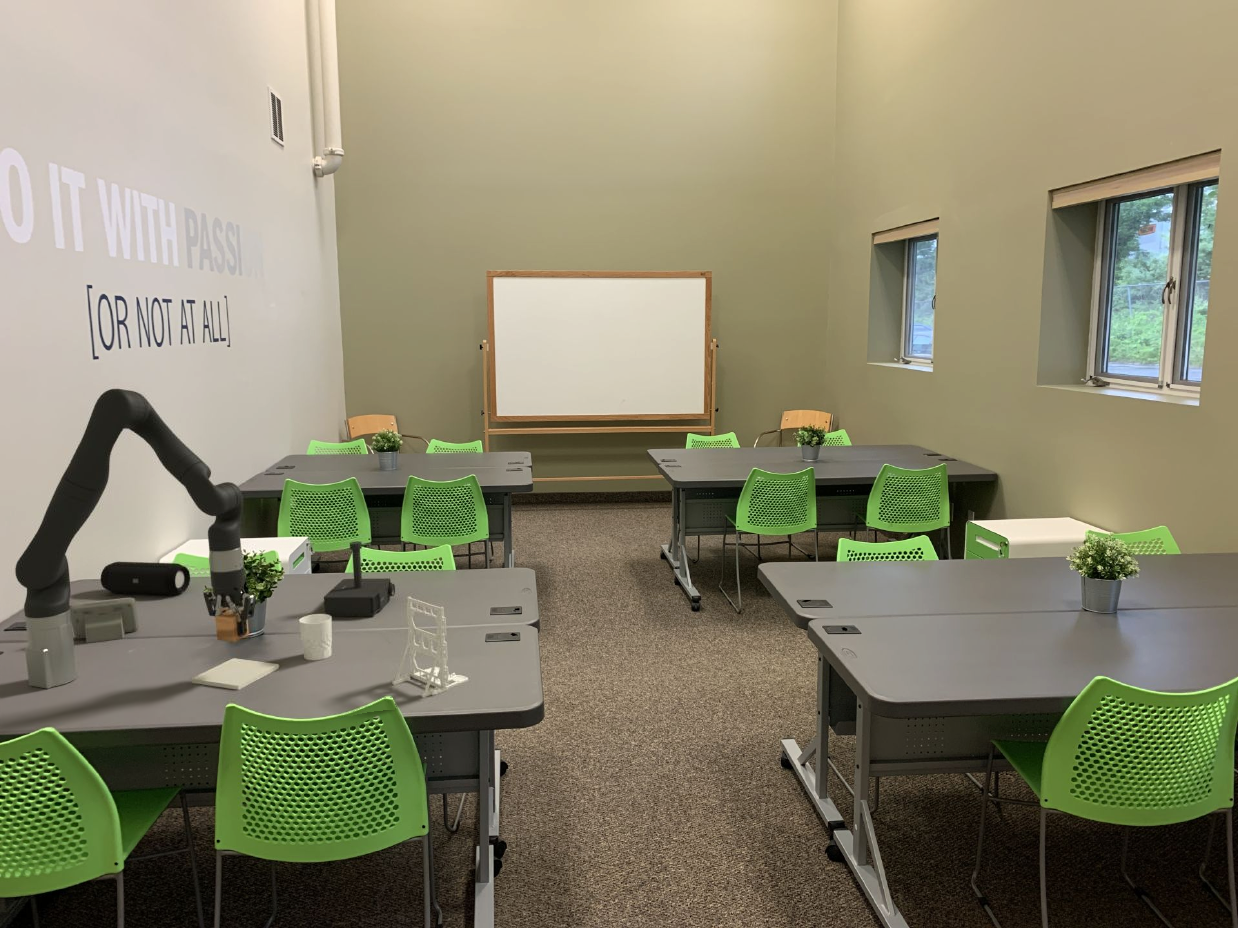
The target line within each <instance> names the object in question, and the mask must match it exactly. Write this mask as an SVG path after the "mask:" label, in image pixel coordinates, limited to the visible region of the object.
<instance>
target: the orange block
mask: <svg viewBox="0 0 1238 928" xmlns="http://www.w3.org/2000/svg"><path fill="white" fill-rule="evenodd" d="M240 615H241V616H242V614H241V612H240ZM214 618H215V627H216V637H217V641H223V642H229V643H235V642H238V641H240V640H241V639H243V638H246V637H248V636H250V632H249V621H248V620H249V619H247V633H246V634H245V635H243V636H238V631H237V622H238V621H237V619H236V616H235V614H233V613H232V611H231V609H229V610H227V612H224V613H222V614H220V615H217V616H215V617H214Z"/></svg>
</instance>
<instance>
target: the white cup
mask: <svg viewBox="0 0 1238 928" xmlns="http://www.w3.org/2000/svg"><path fill="white" fill-rule="evenodd" d="M332 618H333V617H331V616H330V615H327V614H325V613H316V614H315V613H314V614H309V615H305V616H303V617H301V618H299V620H298V622H299V623H298V624H299V630H300V638H301V645H302V650H303V658H304V659H305V660H308V661H321V660H325V659H327V658H329V657H331V656H332V643H333V641H332V639H333V638H332V637H333V636H332V635H333V632H332V631H333V629H332V628H333V626H332V625H333V624H332V623H333V622H332Z"/></svg>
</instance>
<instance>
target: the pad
mask: <svg viewBox="0 0 1238 928" xmlns="http://www.w3.org/2000/svg"><path fill="white" fill-rule="evenodd" d="M279 669H280V665H279V664H278V663H271V662H262V661H259V660H257V661H256V660H249V659H243V658H242V659H241V658H236V657H233V658H231V659H229V660H227V661H225V662H222V663H220V664H218V665H216V666H215V667H212V668H210V669H209V670H206V671H204V672H202V673H200V674H199V675H198V674H197V675H196V676H194V677H192V678H191V683H192V684H199V685H203V686H204V685H205V686H210V687H217V688H225V689H232V690H242V689H243V688H245V687H246V686H249V685H250V684H252V683H254V682H256V681H257V680H259V679H261V678H263V677H265V676H267V675H269V674H271V673H273V672H275V671H276V670H279Z"/></svg>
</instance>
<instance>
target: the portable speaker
mask: <svg viewBox="0 0 1238 928" xmlns="http://www.w3.org/2000/svg"><path fill="white" fill-rule="evenodd" d="M190 582H191V573H190V570H189V568H188V567H187V566H185V565H182V564H180V563H176V562H173V563H172V562H144V561H143V562H140V561H115V562H111V563H109V564H107V565H105V566H104V568H103V569H102V571H101V574H100V583H101V586H102V588H103V589H105V590H107V591H109V592H111V593H113V594H128V595H129V594H131V595H158V596H160V595H161V596H176V595H178V594H181V593H184V592H185V591H187V589H188V588H189V586H190Z"/></svg>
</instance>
